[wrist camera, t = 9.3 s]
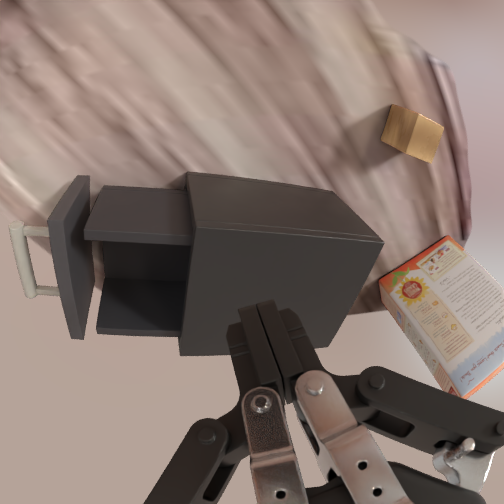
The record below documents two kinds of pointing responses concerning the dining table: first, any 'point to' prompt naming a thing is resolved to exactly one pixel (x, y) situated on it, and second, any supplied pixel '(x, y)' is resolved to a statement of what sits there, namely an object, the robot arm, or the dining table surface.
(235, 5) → the dining table surface
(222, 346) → the dark grey box
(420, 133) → the block
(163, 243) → the drawer
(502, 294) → the cracker box
